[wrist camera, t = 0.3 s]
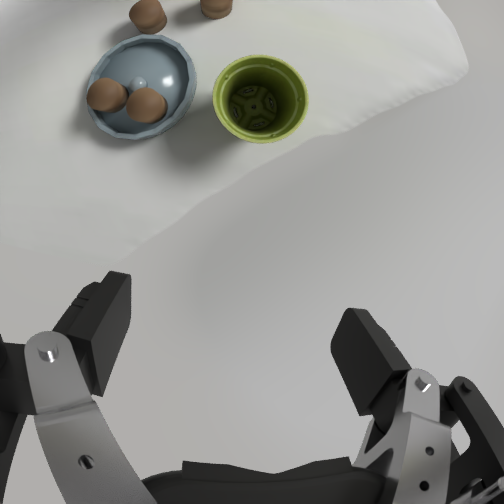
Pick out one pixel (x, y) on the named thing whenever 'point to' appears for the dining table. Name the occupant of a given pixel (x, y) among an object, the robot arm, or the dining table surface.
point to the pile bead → (216, 8)
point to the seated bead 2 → (146, 106)
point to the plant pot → (260, 98)
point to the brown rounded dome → (148, 16)
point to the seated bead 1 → (107, 95)
